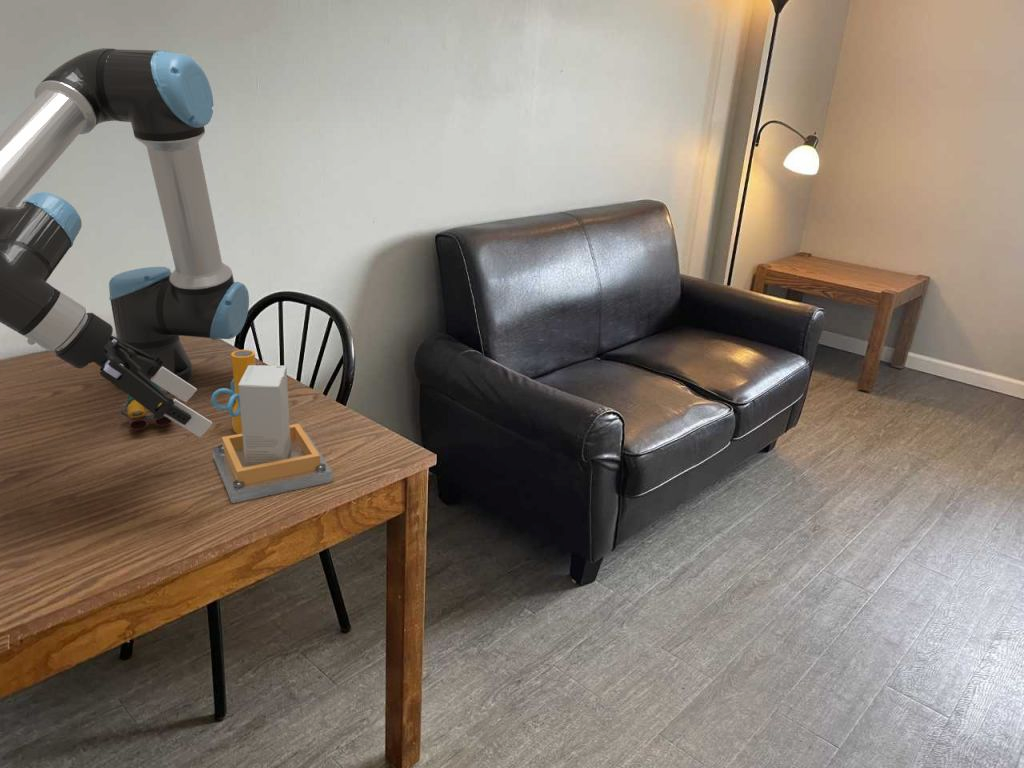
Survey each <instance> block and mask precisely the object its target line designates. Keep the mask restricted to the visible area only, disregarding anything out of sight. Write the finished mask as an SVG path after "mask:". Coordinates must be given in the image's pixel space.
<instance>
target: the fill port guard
mask: <svg viewBox="0 0 1024 768" xmlns="http://www.w3.org/2000/svg"><path fill="white" fill-rule="evenodd" d="M290 440H296V441H297V443H298V444H299V446H300V448H301V449H302V451H303V452H304V454H305V456H300V457H295V458H290V459H285V460H280V461H274V462H269V463H264V464H259V465H254V466H249V467H244V468H243V467H242V465H241V463H240V461H239V459H238V457H237V454H236V452H235V451H236V450H242V449H244V447H243V435H242V434H237V433H235V434H232V435H227V436H226V435H225V436H222V437H221V442H222V445H223V448H224V453H225V455H226V458H227V460H228V462H229V465H230V467H231V469H232V471H233V474H234V476H235V478H236V480H238V483H239V482H244V485H245V484H250V483H255V482H260V481H265V480H270V479H275V478H279V477H284V476H289V475H294V474H299V473H304V472H309V471H313V470H316V467H317V466H321V464H320V455H319V453H318V452H317V450H316V449H315V447H314V446H313V444H312V443H311V441H310V440H309V438H308V437H307V435H306V434H305V432H304V429H303V427H302V426H301V424H300V423H294V424H290Z"/></svg>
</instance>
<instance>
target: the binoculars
mask: <svg viewBox="0 0 1024 768" xmlns="http://www.w3.org/2000/svg"><path fill="white" fill-rule="evenodd" d="M152 377H153V376H151V377H149V379H150V381H151V378H152ZM151 382H152V381H151ZM152 383H154V382H152ZM154 384H155V383H154ZM155 385H156V386H157V387H158V388H159V389H160V390H162V391H163V392H164V393H165V394H166V395H167V390H165V389H163V388H162V387H160V386H159V385H157V384H155ZM126 396H127V400H126V401H125V403H123V405H121V406H120V407H119V411H120V414H121V415H122V416H124V417H125V418H128V419H129V420H128V421H129V423H128V427H129V429H131V430H133V431H141V430H144V429H145V428H147V427H148V426H149V421H148V419H149V418H150V419H154V422H153V423H154V425H156V426H158V427H165V426H169V425H170V424H172V423H173V421H172V420H170V419H169V418H167V417H165V416H164V415H163V416H162V418H161V419H160V420H158V419H156V418H155V417H154V416H155V415H154V414H147V411H146V408H145V407H144V406H142V405H141V404H140V403H138V402H137V401H136V400H135V399H133V398H132V397H131V396H129V395H128V394H126ZM170 398H171V399H173V400H174V398H172V397H170ZM161 404H162V403H160V404H159V405H158V406H160V405H161ZM125 408H127V409H126V410H127V413H125V412H124V411H123V410H124V409H125ZM146 414H147V415H146ZM150 419H149V420H150Z"/></svg>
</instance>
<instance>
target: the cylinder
mask: <svg viewBox="0 0 1024 768" xmlns="http://www.w3.org/2000/svg"><path fill="white" fill-rule="evenodd" d="M230 356H231V368H232V375H233V379H232V380H231V381H230V389H229V388H226V387H223V388H222V387H221V388H218V389H216V390H215V391H214V392H213V393H212V395H211V397H210V398H211V399H210V401H211V405H213V407H214V408H215V409H218V410H220V411H226V410H227V412H228V414H229V416H230V417H231V424H232V430H233V432H234V433H235V434H242V423H241V411H240V398H239V386H238V384H239V383H240V381H241V379H242V377H243V375H244V373H245V371H246V369H247V367H248V366H249V365H256V353H255V351H253V350H251V349H238V350H235V351H232V352H231V353H230ZM222 393H226V394H229V396H230V397H229V399H228V403H227V404H226V405H221V404H219V403H218V401H217V397H218V395H220V394H222Z"/></svg>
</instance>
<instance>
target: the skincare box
mask: <svg viewBox="0 0 1024 768" xmlns="http://www.w3.org/2000/svg"><path fill="white" fill-rule="evenodd" d="M287 369H288V367H287V365H264V364H263V365H261V364H258V365H249V366H248V367H247V369H246V371H245V373H244V375H243V377H242V379H241V381H240V383H239V384H238V386H239V398H240V411H241V423H242V435H243V447H244V460H245V467H249V466H254V465H259V464H264V463H269V462H274V461H280V460H285V459H288V456H289V453H290V450H291V440H290V425H291V424H290V410H289V409H290V407H289V390H288V387H289V386H288V385H289V384H288V370H287Z"/></svg>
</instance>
